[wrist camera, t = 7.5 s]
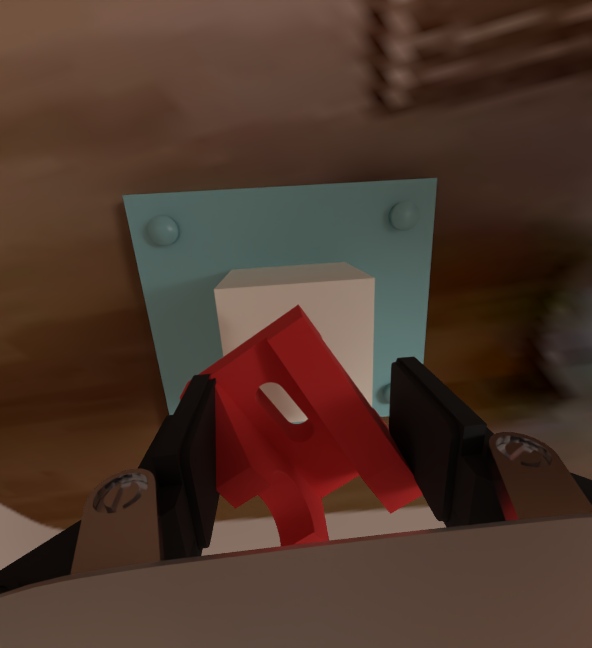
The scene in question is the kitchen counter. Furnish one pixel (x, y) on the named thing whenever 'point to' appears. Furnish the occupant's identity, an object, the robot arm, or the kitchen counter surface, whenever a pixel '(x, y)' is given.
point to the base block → (318, 304)
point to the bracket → (299, 431)
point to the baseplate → (281, 261)
